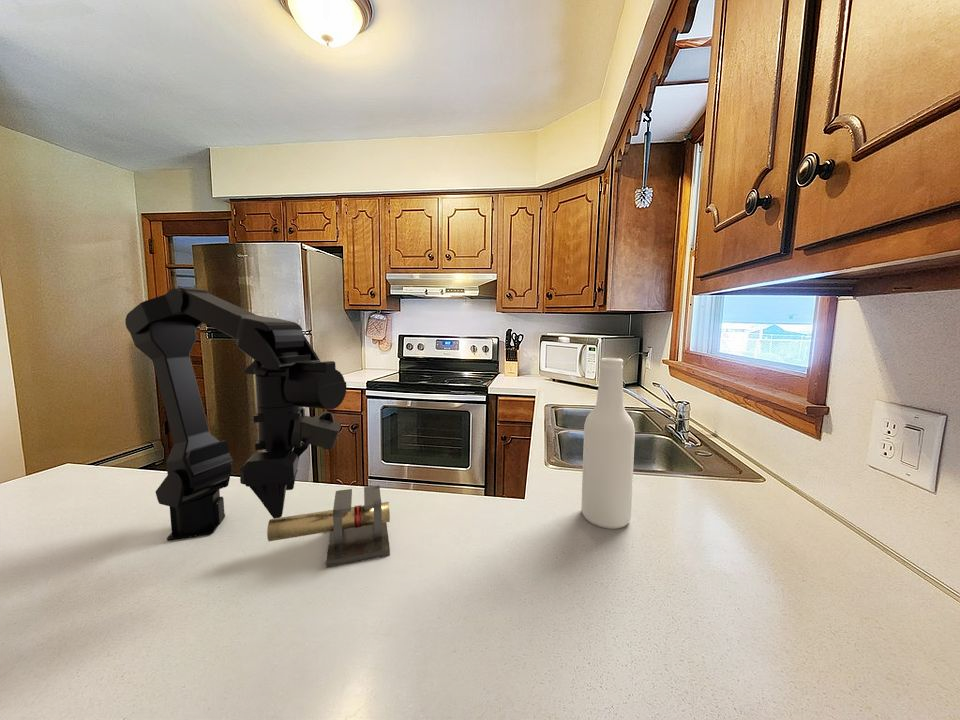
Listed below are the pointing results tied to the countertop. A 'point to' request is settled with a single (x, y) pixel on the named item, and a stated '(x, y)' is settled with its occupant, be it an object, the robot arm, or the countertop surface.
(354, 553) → the grey slotted stand
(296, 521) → the tube
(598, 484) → the alcohol
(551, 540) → the countertop surface
